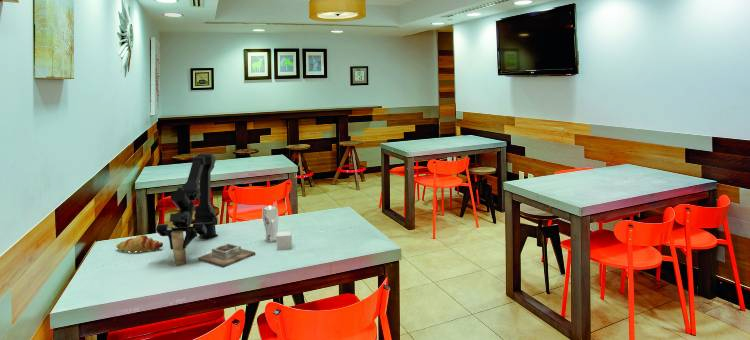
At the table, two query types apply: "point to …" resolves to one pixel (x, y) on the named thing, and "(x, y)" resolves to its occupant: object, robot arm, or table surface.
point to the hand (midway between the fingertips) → (177, 248)
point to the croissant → (139, 244)
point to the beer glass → (270, 222)
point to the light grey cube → (284, 240)
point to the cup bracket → (226, 255)
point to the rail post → (178, 247)
